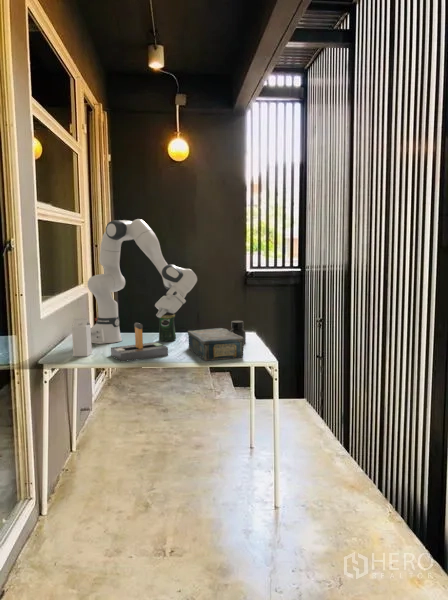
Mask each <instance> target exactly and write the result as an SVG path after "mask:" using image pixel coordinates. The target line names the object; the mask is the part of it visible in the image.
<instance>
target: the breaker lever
mask: <svg viewBox="0 0 448 600" xmlns="http://www.w3.org/2000/svg"><path fill="white" fill-rule="evenodd" d="M133 327H134V337H135V343H134V345H136V347H137V348H139V349H141V348H143V344H144V341H143V339H144V337H143V328H144V326H143V324H142V323H139V322H134V324H133Z"/></svg>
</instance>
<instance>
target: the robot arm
mask: <svg viewBox="0 0 448 600" xmlns="http://www.w3.org/2000/svg"><path fill="white" fill-rule="evenodd" d="M124 241H125V242H130V241H135V244H136V245H137V246H138V247H139V249H140V250H141V251H142V252H143V253H144V254H145V256H146V257H147V258H148V259H149V260H150V261H151V263H152V264H153V265H154V267H155V268H156V270H157V271H158V273H159V274H160V276H161V278H162V283H163V286H164V288H165V289H166V290H168V291H166V293H165V295H163V296H162V297H160V299H159V298H158V299H159V300H158V301H156V302H155V304H154V307H155V308H156V309H157V310H158V311H157V313H156V314H155V316H156V317H157V318H158V317H159V318H161V317H162V315H164V314H165V313H166V312H169V313H173V314H174V313H175V314H176V313H177V312H178V311H179V309H180V308H182V306H183V305H184V304H185V303H186V302H187V300H186V299H185V298H186V296H187V294H188V293H190V292H191V291H192V289H193V288H194V287H195V285H196V284H197V282H198V276H197V274H196V273H195V272H194V270H192V269H190V268H184V267H179V266H176V265H175V264H171V263H170V264H168V262H167V261H166V260H165V257H164V256H163V253H162V249H161V245H160V241H159V239H158V237H157V235H156V233H155V232H154V231H153V229H152V228H151V227H150V226H149V224H148V223H146V222H145V221H144V220H143V219H140V218H137V219H134V220H127V219H123V220H121V219H119V220H117V219H115V220H111V221H109V222H107V225H106V226H105V231H104V233H103V235H102V239H101V243H100V251H99V252H100V253H99V261H98V262H99V264H100V265H101V266H102V268H103V273H101V274H96V275H95V274H94V275H93V276H91V277H89V278H88V280H87V288H88V290H89V292H91V293H92V294H93V296H94V297H95V300H96V303H97V312H98V313H97V314H98V317H97V318H96V317H95V319H94V321H96V323H95V324H94V325H92V326H91V344H98V345H102V344H103V345H104V344H112V343H113V344H114V343H118V342H121V341H123V339H122V336H121V330H120V317H119V304H118V301H116V300H115V299H114V297H113V294H112V293H115V292H116V293H117V292H118V291H121V290H123V289H124V288H125V286H126V279H125V276H123V274H122V272H121V268H120V260H121V249H122V248H121V247H122V244H123V242H124ZM159 318H158V319H159Z"/></svg>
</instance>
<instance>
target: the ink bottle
mask: <svg viewBox="0 0 448 600" xmlns="http://www.w3.org/2000/svg"><path fill="white" fill-rule="evenodd" d="M230 323H231V324H230V325H231V329H230V330H229V331H230V332H233V333H235V334H237V335H239V336H242V337H243V338H244V344H245V343H246V342H247V341H246V340H247V339H246V337H247V335H246V333H247V332H246V330H245V329H244V326H245V325H244V321H243V320H231V322H230Z"/></svg>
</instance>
